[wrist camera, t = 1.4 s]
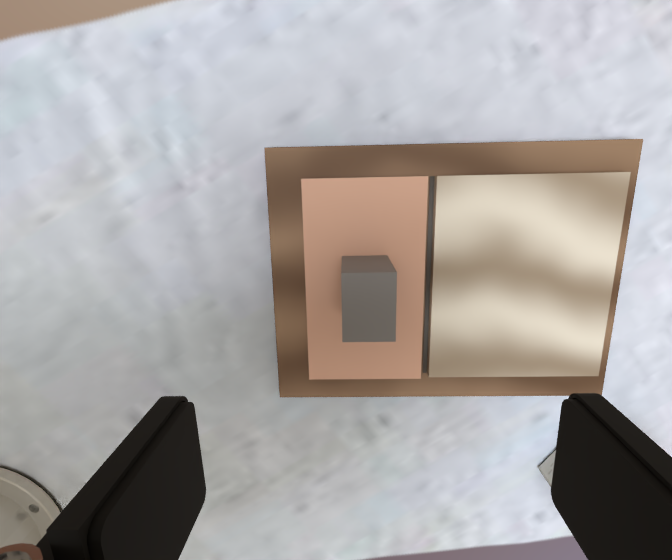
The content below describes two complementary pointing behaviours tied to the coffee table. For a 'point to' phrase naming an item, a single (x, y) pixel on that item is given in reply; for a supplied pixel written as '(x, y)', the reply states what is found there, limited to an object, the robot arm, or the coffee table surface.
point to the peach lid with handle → (364, 276)
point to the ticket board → (479, 262)
